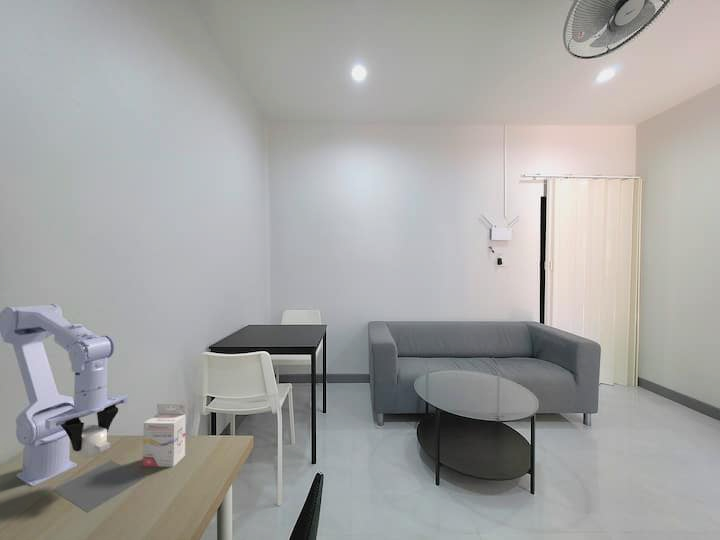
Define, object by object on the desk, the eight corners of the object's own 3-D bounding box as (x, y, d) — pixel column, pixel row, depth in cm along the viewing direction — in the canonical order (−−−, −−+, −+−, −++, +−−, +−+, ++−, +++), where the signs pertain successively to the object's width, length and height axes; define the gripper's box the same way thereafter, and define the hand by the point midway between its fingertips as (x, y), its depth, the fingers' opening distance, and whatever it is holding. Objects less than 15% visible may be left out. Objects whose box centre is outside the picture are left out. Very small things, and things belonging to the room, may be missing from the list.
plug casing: (69, 450, 66) (69, 431, 66) (91, 441, 69) (91, 423, 69) (93, 462, 61) (94, 442, 61) (115, 452, 65) (116, 432, 65)
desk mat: (52, 491, 63) (52, 489, 63) (111, 461, 73) (111, 460, 73) (87, 514, 57) (87, 512, 57) (146, 478, 67) (146, 477, 67)
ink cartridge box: (141, 468, 71) (142, 411, 71) (156, 456, 75) (157, 402, 76) (173, 468, 70) (174, 411, 71) (186, 456, 75) (186, 402, 76)
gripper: (56, 402, 58) (54, 467, 57) (135, 379, 71) (134, 432, 71) (41, 397, 61) (39, 459, 60) (120, 376, 74) (119, 426, 73)
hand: (89, 444), depth 66 cm, fingers closed on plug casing, 4 cm apart
